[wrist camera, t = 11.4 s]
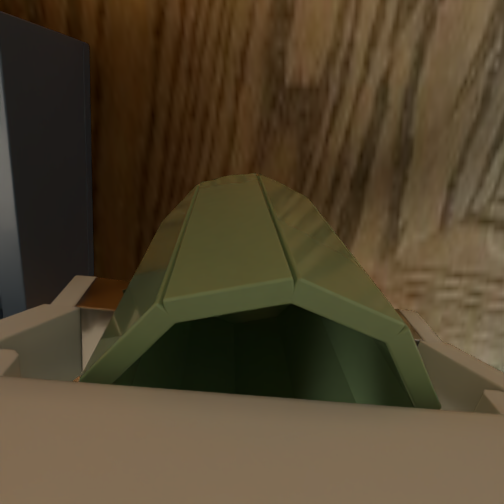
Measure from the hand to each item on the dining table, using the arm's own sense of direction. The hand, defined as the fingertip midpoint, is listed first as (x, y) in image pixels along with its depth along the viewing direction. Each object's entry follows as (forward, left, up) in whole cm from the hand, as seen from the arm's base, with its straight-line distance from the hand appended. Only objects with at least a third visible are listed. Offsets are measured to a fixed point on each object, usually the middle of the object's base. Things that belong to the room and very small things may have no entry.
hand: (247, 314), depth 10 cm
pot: (0, 0, -4) cm, 4 cm away
